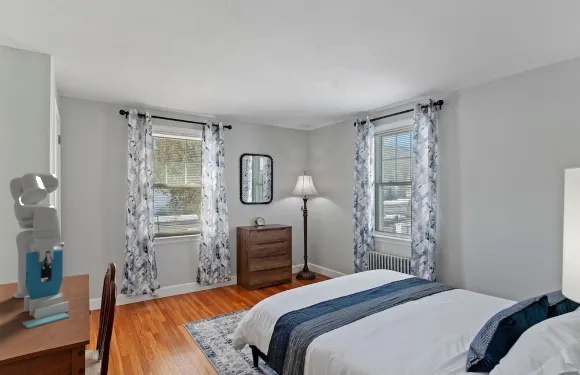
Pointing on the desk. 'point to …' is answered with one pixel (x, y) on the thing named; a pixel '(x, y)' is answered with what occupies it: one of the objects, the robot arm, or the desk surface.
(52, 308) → the rack
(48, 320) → the mat
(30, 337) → the desk surface
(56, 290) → the block
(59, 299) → the upper offcut
